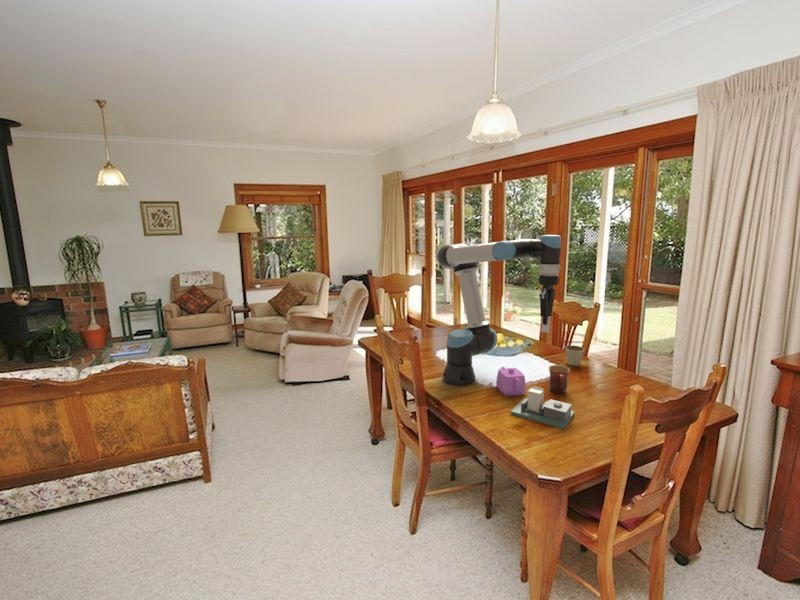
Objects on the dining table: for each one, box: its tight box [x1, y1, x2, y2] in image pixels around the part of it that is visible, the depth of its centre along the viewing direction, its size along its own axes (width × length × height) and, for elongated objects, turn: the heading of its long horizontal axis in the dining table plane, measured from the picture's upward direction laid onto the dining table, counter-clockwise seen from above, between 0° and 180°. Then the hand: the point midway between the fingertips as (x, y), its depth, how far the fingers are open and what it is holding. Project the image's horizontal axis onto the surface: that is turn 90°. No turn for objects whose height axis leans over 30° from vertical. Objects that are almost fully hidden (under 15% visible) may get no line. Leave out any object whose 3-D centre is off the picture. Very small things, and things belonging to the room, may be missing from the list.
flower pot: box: [564, 344, 585, 367], centre depth 213 cm, size 9×9×9 cm
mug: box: [548, 364, 571, 394], centre depth 179 cm, size 12×9×10 cm
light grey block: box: [527, 386, 545, 413], centre depth 161 cm, size 5×5×8 cm
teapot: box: [495, 366, 527, 397], centre depth 182 cm, size 18×10×10 cm, turn 8°
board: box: [510, 396, 575, 430], centre depth 160 cm, size 20×14×6 cm
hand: (545, 331), depth 168 cm, fingers closed
